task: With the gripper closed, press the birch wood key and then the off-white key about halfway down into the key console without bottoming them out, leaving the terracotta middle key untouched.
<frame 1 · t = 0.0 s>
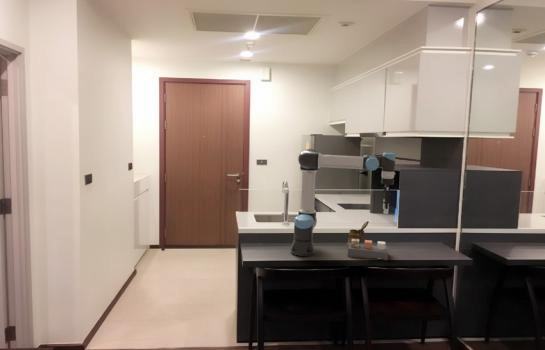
hand: (385, 211, 252), 28 cm above the table, tool pointing down, fingers open, 13 cm apart
key console: (367, 255, 254), on the table
white key: (381, 246, 251), point 7 cm above the table, slide at 0.0 cm
birch key: (355, 243, 254), point 7 cm above the table, slide at 0.0 cm
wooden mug: (356, 247, 270), on the table
terracotta key: (368, 245, 253), point 7 cm above the table, slide at 0.0 cm
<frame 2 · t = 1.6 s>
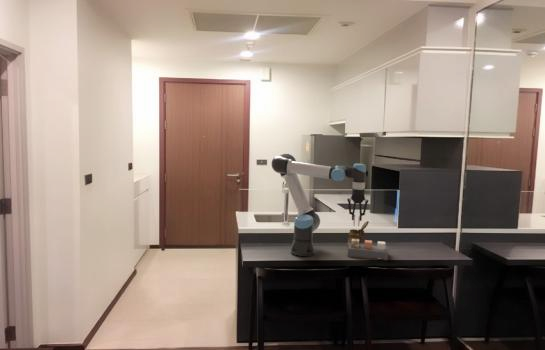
hand: (356, 225, 253), 18 cm above the table, tool pointing down, fingers open, 2 cm apart
nothing on the table moved.
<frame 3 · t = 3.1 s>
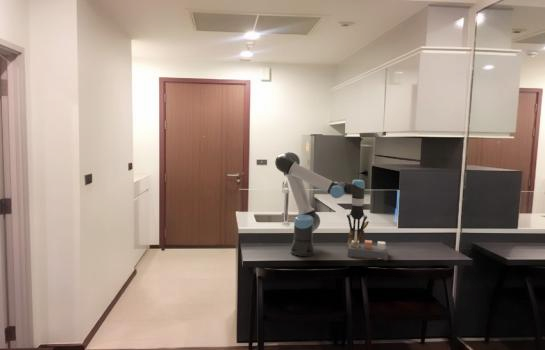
hand: (355, 241, 254), 8 cm above the table, tool pointing down, fingers closed
birch key: (355, 245, 255), point 6 cm above the table, slide at 1.0 cm, touching gripper
everything else where it was.
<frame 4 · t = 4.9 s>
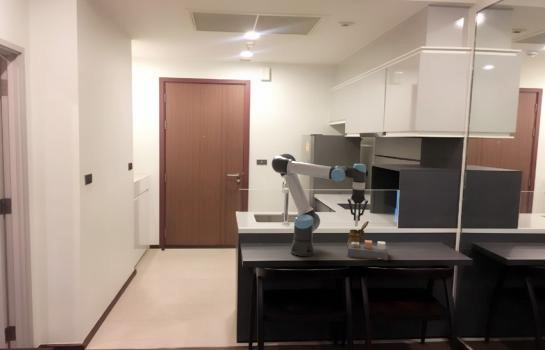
hand: (356, 225, 253), 18 cm above the table, tool pointing down, fingers closed
birch key: (355, 246, 255), point 5 cm above the table, slide at 2.0 cm
everything else where it was.
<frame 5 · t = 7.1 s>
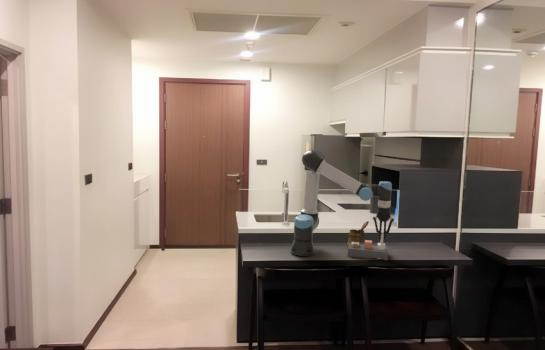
hand: (381, 243, 251), 8 cm above the table, tool pointing down, fingers closed
white key: (381, 247, 251), point 6 cm above the table, slide at 1.0 cm, touching gripper
everything else where it was.
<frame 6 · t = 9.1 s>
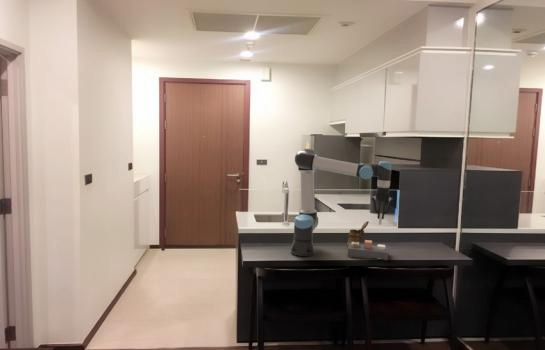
hand: (380, 224, 251), 20 cm above the table, tool pointing down, fingers closed
white key: (381, 249, 251), point 5 cm above the table, slide at 2.0 cm
everything else where it was.
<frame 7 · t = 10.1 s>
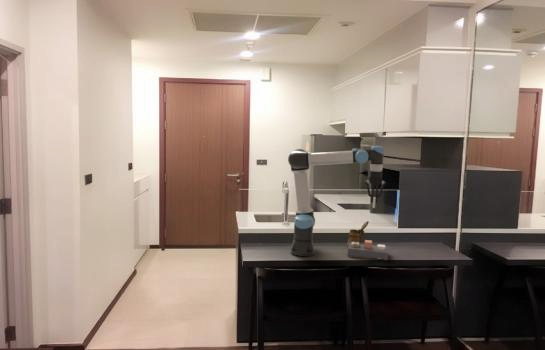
hand: (373, 207, 256), 29 cm above the table, tool pointing down, fingers closed
nothing on the table moved.
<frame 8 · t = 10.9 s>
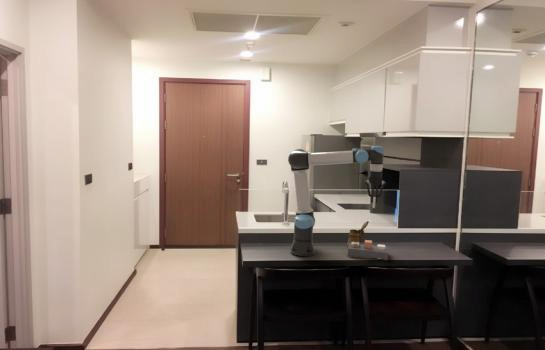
hand: (373, 207, 256), 29 cm above the table, tool pointing down, fingers closed
nothing on the table moved.
at the end: birch key slide at 2.0 cm; white key slide at 2.0 cm; terracotta key slide at 0.0 cm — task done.
